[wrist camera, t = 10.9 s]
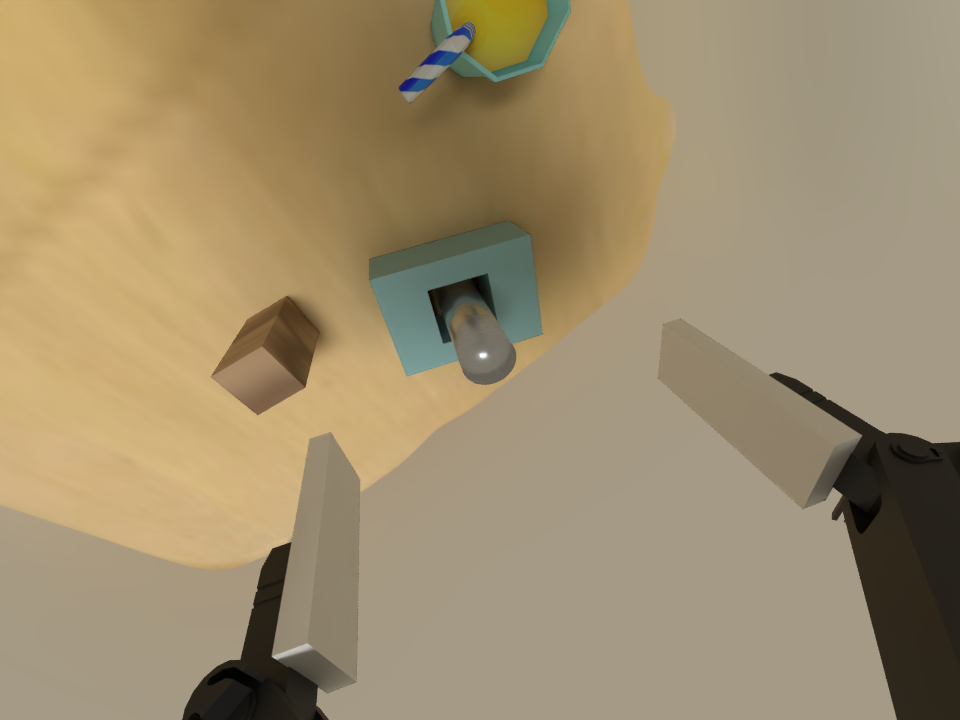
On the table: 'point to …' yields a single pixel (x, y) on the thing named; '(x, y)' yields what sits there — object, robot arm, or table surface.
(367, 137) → the table surface
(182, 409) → the table surface
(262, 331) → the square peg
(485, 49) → the cup
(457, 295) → the round dowel
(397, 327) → the socket block
